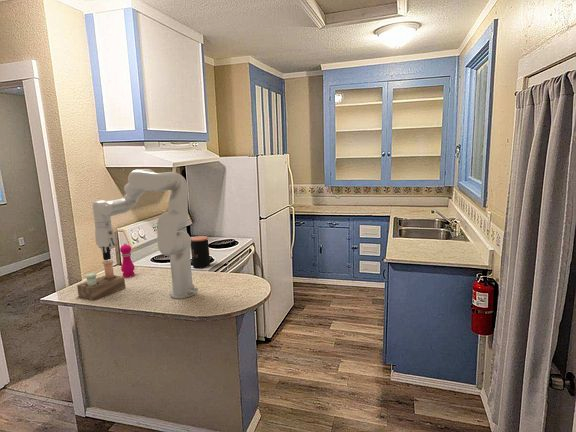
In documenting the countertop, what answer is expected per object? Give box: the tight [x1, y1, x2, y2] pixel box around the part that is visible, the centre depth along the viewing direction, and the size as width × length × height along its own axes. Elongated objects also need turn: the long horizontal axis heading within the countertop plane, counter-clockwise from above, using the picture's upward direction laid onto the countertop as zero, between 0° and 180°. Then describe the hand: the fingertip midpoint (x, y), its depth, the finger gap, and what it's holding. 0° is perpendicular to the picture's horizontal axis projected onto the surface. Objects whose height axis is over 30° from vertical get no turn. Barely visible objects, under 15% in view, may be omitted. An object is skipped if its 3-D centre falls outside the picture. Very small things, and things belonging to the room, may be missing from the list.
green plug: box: [84, 272, 97, 286], centre depth 184 cm, size 5×5×10 cm
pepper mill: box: [119, 241, 136, 278], centre depth 213 cm, size 7×7×20 cm
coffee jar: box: [190, 235, 211, 269], centre depth 226 cm, size 11×11×18 cm
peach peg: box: [102, 259, 114, 280], centre depth 192 cm, size 5×5×10 cm
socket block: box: [76, 275, 126, 301], centre depth 189 cm, size 12×18×6 cm, turn 152°
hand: (107, 259), depth 191 cm, fingers closed
